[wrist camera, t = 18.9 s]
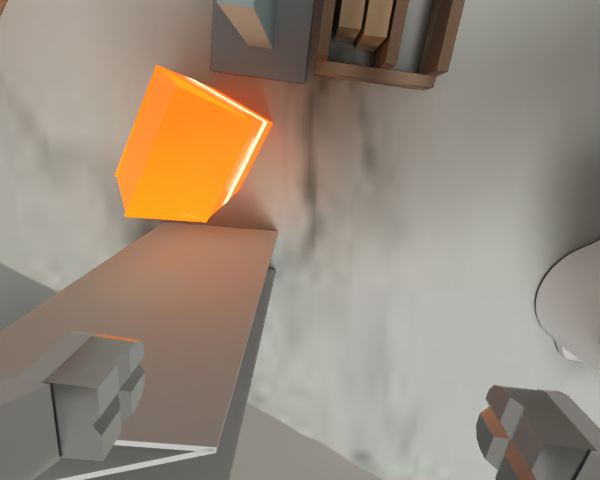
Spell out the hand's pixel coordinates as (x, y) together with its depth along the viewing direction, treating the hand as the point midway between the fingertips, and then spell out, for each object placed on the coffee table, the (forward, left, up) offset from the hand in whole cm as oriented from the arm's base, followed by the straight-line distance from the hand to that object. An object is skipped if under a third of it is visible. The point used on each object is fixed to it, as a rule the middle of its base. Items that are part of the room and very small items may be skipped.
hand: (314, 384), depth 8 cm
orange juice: (+10, -3, -34) cm, 36 cm away
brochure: (+10, +10, -34) cm, 37 cm away
